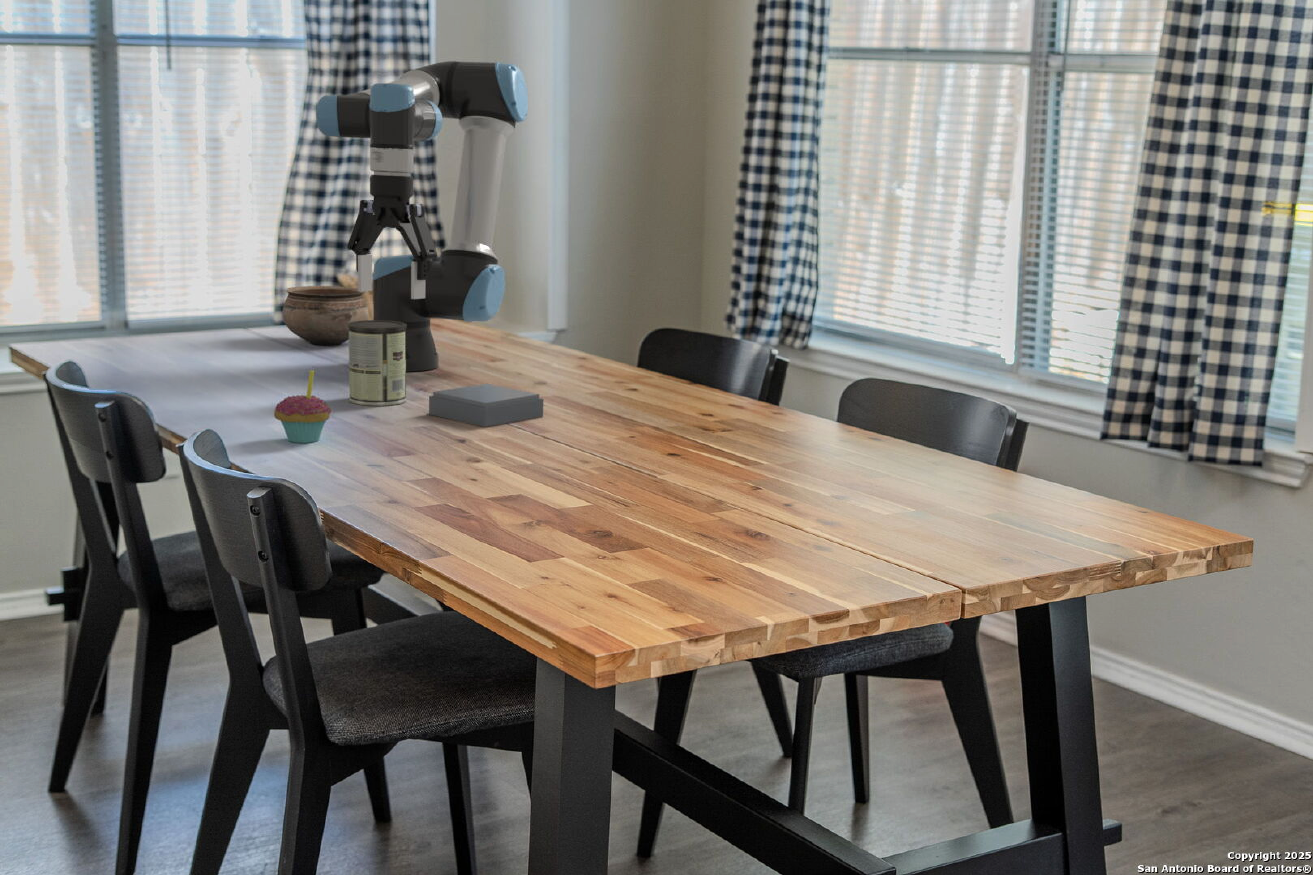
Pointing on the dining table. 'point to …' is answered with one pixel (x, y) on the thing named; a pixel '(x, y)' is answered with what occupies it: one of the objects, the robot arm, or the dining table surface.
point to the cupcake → (303, 415)
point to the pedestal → (485, 405)
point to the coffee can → (377, 362)
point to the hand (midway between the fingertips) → (391, 295)
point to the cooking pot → (323, 313)
